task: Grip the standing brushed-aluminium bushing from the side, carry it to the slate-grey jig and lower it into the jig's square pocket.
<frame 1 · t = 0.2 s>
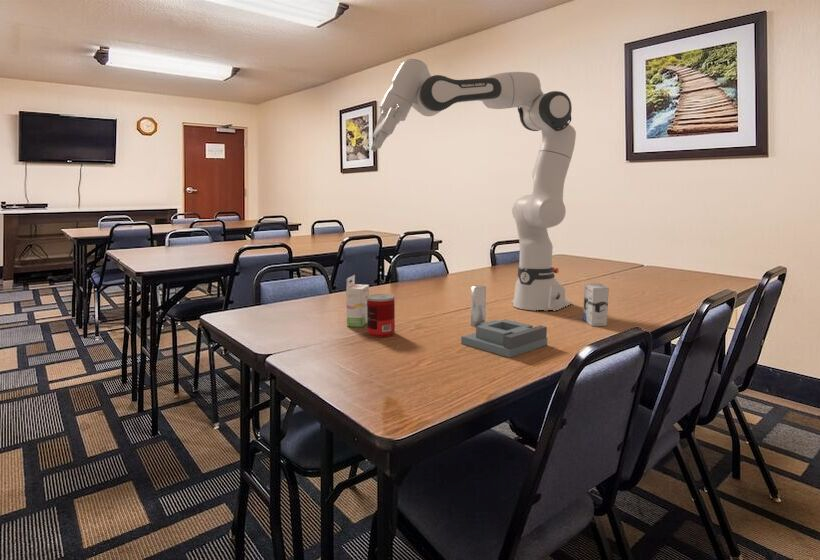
hand: (375, 149, 160), 53 cm above the table, tool tilted 25°, fingers open, 8 cm apart
jig: (503, 344, 136), on the table
ink box 2: (594, 323, 158), on the table
ink box: (358, 324, 158), on the table
bushing: (478, 325, 156), on the table
canned food: (381, 334, 147), on the table
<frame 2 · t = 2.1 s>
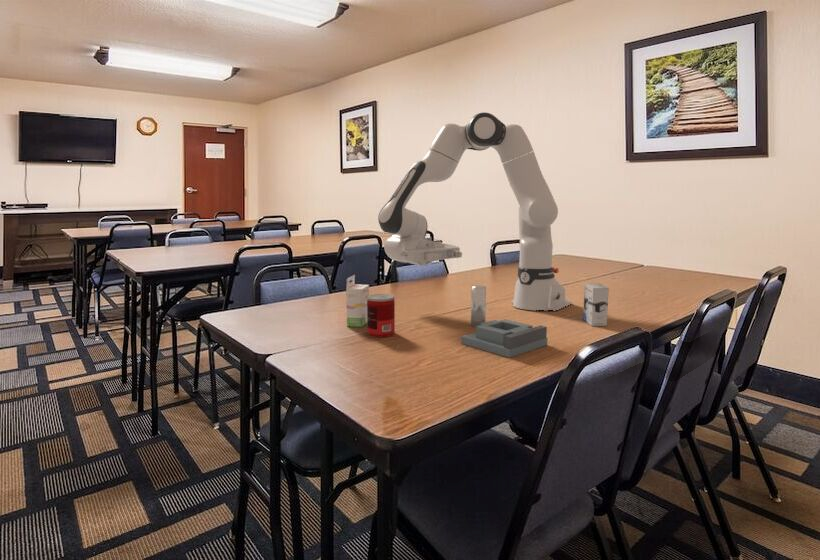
hand: (450, 256, 161), 20 cm above the table, tool horizontal, fingers open, 8 cm apart
nothing on the table moved.
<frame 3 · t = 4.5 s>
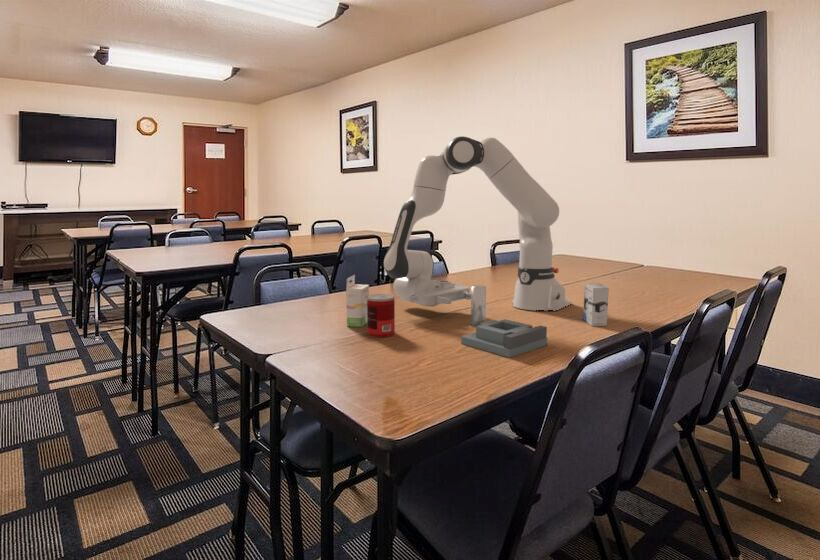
hand: (460, 299, 160), 7 cm above the table, tool horizontal, fingers open, 8 cm apart
nothing on the table moved.
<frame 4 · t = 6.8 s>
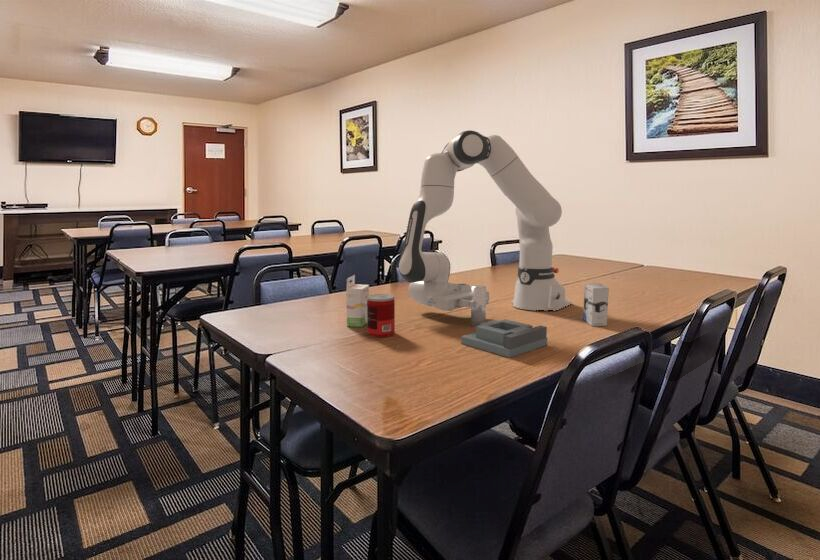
hand: (480, 303, 154), 7 cm above the table, tool horizontal, fingers closed on bushing, 4 cm apart
bushing: (478, 325, 156), on the table, touching gripper
everything else where it was.
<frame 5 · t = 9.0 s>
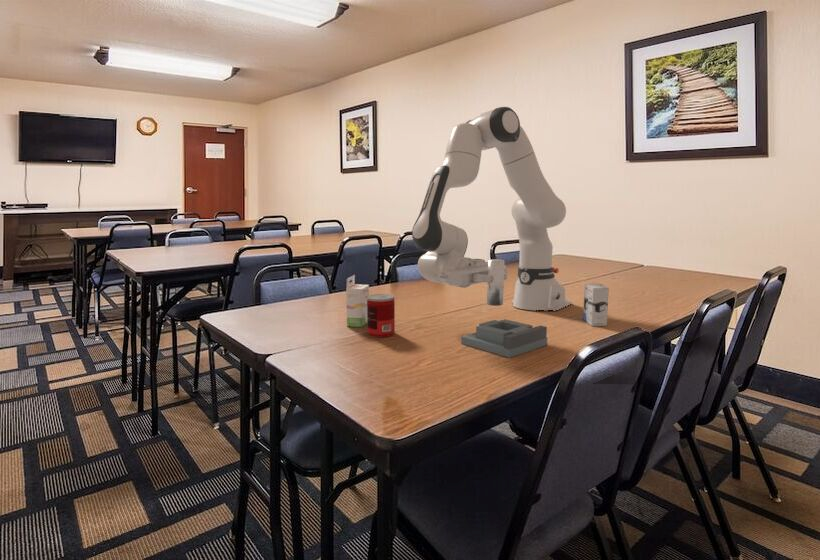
hand: (498, 278, 137), 17 cm above the table, tool horizontal, fingers closed on bushing, 4 cm apart
bushing: (494, 303, 139), point 10 cm above the table, touching gripper
everything else where it was.
when the fingers open (10 cm above the table, at t = 11.4 s): bushing stays where it is, resting on jig.
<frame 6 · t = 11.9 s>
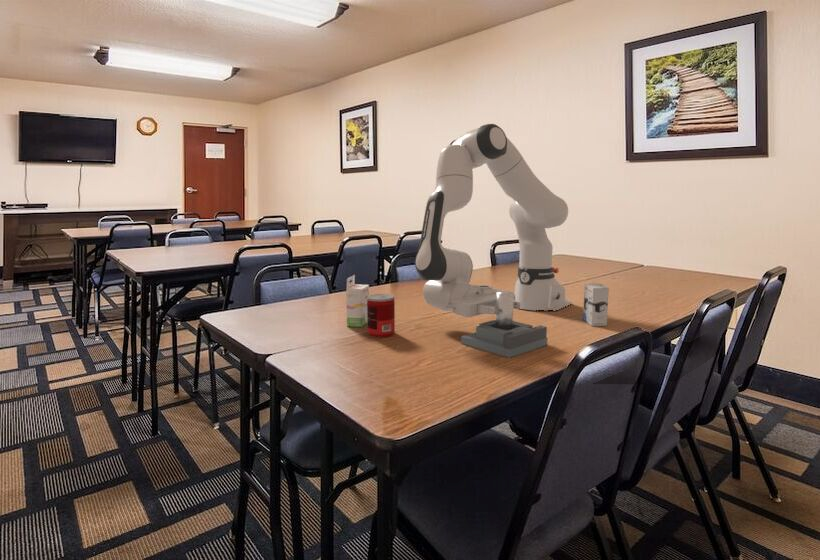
hand: (507, 308, 134), 10 cm above the table, tool horizontal, fingers open, 8 cm apart
bushing: (504, 336, 136), point 2 cm above the table, touching jig
everything else where it was.
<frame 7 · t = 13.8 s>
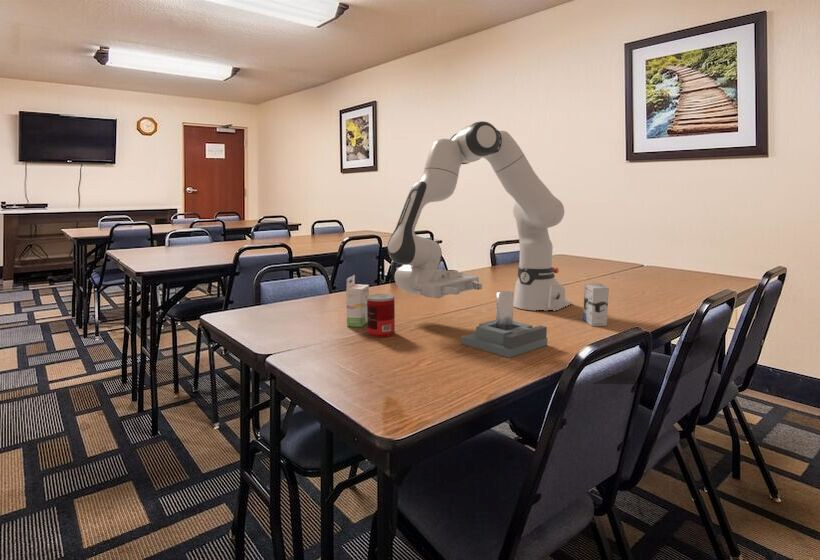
hand: (469, 289, 145), 13 cm above the table, tool horizontal, fingers open, 8 cm apart
nothing on the table moved.
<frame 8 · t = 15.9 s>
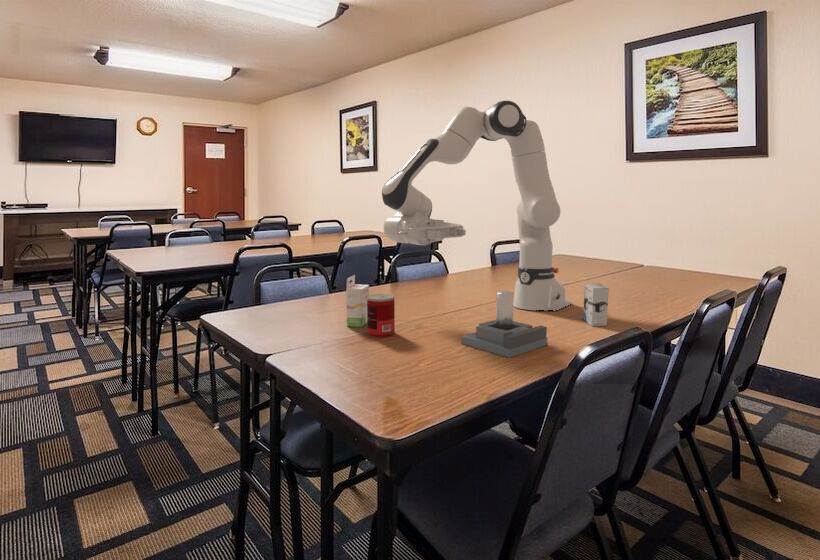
hand: (453, 233, 151), 28 cm above the table, tool horizontal, fingers open, 8 cm apart
nothing on the table moved.
at the end: bushing 0.1 cm off-centre on the jig, point 2.0 cm above the jig's base; bushing tilted 0°; the gripper is holding nothing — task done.
